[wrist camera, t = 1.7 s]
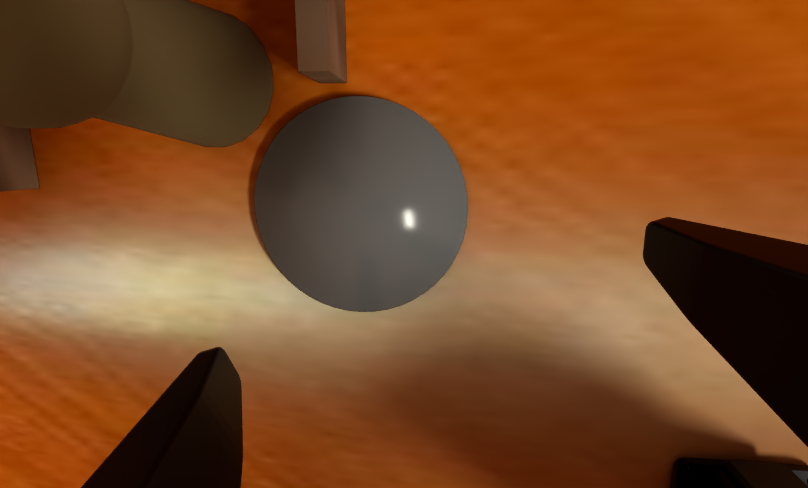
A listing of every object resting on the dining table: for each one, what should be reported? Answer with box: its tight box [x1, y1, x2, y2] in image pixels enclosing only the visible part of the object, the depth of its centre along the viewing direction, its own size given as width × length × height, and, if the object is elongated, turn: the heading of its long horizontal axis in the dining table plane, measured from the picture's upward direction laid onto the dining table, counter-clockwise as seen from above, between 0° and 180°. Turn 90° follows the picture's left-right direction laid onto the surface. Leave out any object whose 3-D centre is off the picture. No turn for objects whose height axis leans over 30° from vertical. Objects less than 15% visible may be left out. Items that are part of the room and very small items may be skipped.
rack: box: [0, 0, 347, 191], centre depth 18 cm, size 13×17×5 cm
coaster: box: [255, 96, 468, 312], centre depth 20 cm, size 10×10×1 cm
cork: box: [0, 0, 273, 147], centre depth 15 cm, size 6×6×11 cm
